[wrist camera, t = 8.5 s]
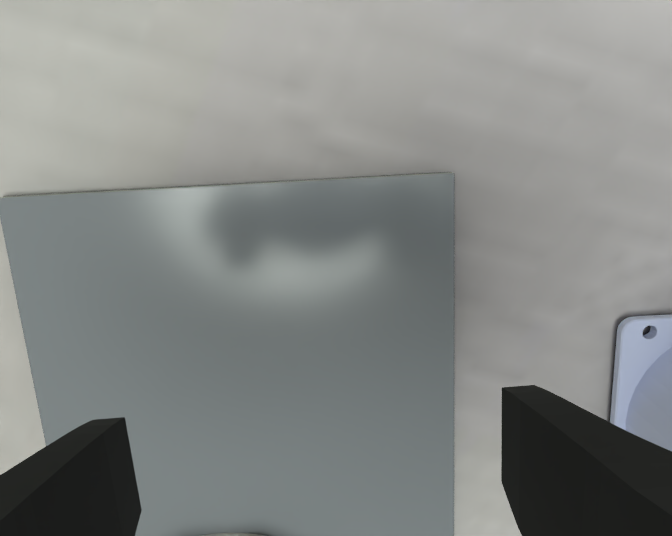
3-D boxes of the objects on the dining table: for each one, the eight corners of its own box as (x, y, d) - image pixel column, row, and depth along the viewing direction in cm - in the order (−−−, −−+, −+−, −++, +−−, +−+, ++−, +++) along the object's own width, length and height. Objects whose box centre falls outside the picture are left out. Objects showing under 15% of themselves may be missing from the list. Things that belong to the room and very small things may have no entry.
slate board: (450, 172, 20) (454, 173, 19) (451, 750, 26) (453, 762, 26) (4, 196, 19) (-4, 198, 19) (118, 774, 26) (114, 786, 26)
